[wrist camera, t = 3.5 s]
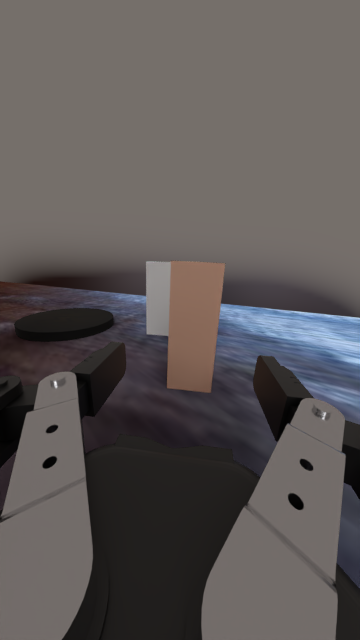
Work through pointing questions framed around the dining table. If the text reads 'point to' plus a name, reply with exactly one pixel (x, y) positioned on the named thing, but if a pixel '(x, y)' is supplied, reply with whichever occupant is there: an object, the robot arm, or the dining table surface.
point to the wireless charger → (63, 324)
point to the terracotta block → (193, 324)
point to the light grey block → (158, 297)
